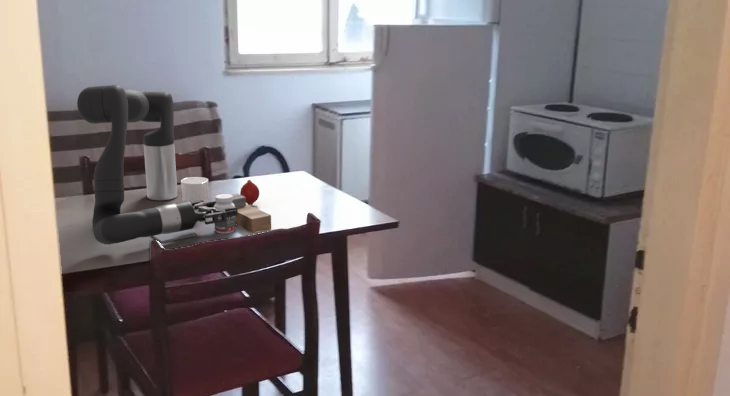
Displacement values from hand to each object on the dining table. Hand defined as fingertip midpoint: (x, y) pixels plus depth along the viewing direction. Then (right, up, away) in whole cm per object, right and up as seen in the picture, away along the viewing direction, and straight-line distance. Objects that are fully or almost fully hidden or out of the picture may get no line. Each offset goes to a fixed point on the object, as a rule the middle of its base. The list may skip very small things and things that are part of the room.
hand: (229, 207), depth 203 cm
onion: (+2, 0, +25) cm, 25 cm away
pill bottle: (-1, -7, +1) cm, 7 cm away
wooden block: (+3, -4, +9) cm, 10 cm away
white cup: (-13, -2, +17) cm, 21 cm away
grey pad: (-15, -7, -2) cm, 17 cm away
